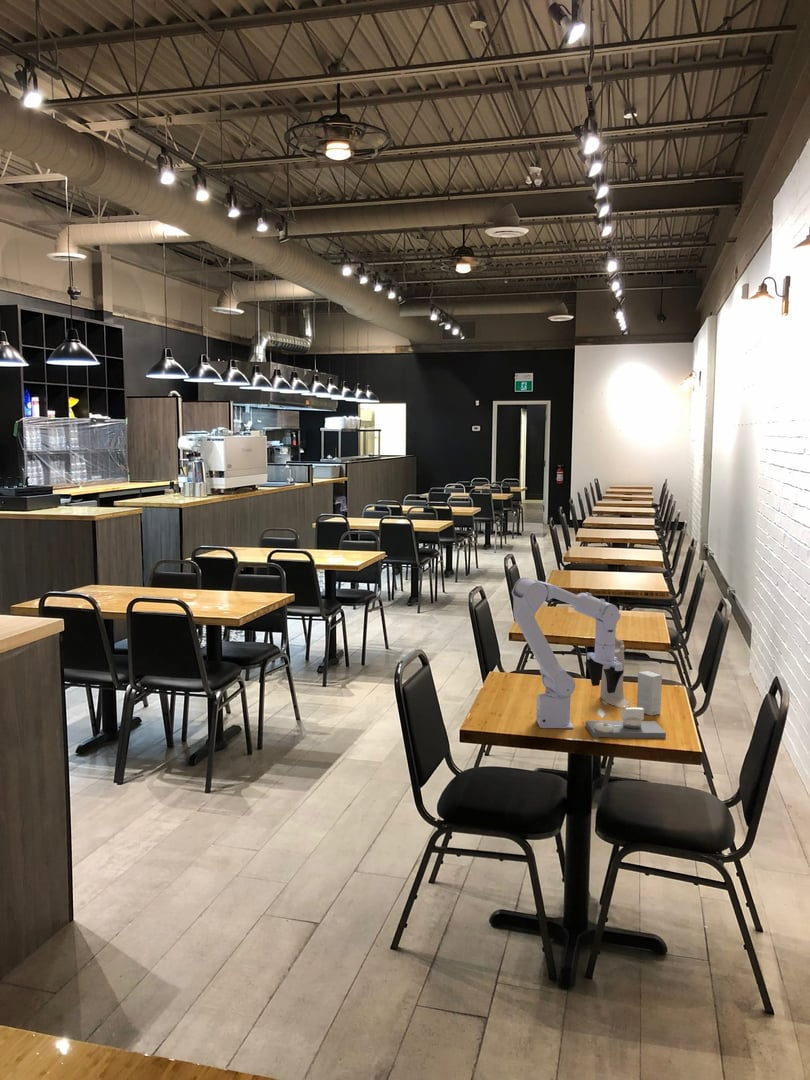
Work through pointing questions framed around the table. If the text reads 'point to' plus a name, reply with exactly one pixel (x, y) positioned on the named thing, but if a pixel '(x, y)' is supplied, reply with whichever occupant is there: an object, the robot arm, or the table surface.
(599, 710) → the table surface
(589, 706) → the table surface
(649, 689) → the skincare box
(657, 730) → the base
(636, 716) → the knob
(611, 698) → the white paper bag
